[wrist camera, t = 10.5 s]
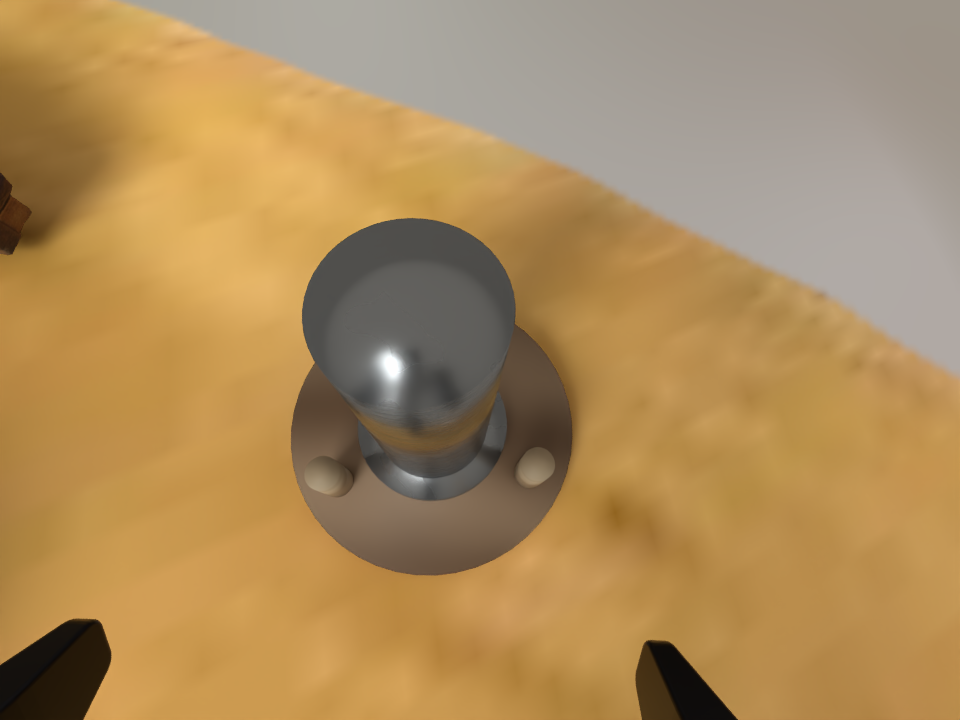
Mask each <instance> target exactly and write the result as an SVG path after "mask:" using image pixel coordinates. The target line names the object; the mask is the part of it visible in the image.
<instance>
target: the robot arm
mask: <svg viewBox="0 0 960 720" xmlns="http://www.w3.org/2000/svg"><path fill="white" fill-rule="evenodd" d="M110 662H111V649H110V646H109V644H108V641H107V638H106V635H105V632H104V629H103V626H102V624H101V622H100V621H98V620H96V619H72V620H69V621H67V622H65V623H63V624H61V625H60V626H58V627H57V628H55V629H54V630H52V631H51V632H49V633H48V634H46V635H45V636H43V637H42V638H40V639H39V640H37V641H36V642H34V643H33V644H31V645H30V646H28V647H27V648H25V649H24V650H22V651H21V652H19V653H18V654H16V655H15V656H13V657H12V658H10V659H9V660H7V661H6V662H4V663H2V664H1V665H0V720H83V719H84V717H85V715H86V713H87V711H88V709H89V707H90V705H91V703H92V701H93V699H94V697H95V695H96V693H97V691H98V689H99V687H100V685H101V683H102V681H103V679H104V677H105V675H106V673H107V671H108V668H109V665H110ZM636 689H637V694H638V700H639V705H640V711H641V716H642V720H738V719H737V718H736V717H735V716H734V715H733V714H732V712H731V711H730V710H729V709H728V708H727V707H726V705H725V704H724V703H723V702H722V701H721V700H720V698H719V697H718V696H717V695H716V694H715V693H714V691H713V690H712V689H711V688H710V687H709V686H708V684H707V683H706V682H705V681H704V680H703V679H702V677H701V676H700V675H699V674H698V673H697V672H696V671H695V669H694V668H693V667H692V666H691V665H690V664H689V662H688V661H687V660H686V659H685V658H684V657H683V655H682V654H681V653H680V652H679V651H678V650H677V648H676V647H675V646H674V645H673V644H671V643H670V642H668V641H656V640H648V641H646V642H645V643H644V645H643V648H642V652H641V655H640V659H639V663H638V666H637V670H636Z"/></svg>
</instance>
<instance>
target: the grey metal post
mask: <svg viewBox="0 0 960 720" xmlns="http://www.w3.org/2000/svg"><path fill="white" fill-rule="evenodd" d="M514 323H515V299H514V293H513V289H512V286H511V283H510V280H509V278H508V275H507V273H506V271H505V269H504V268H503V266H502V264H501V263H500V261H499V260H498V259H497V257H496V256H495V255H494V254H493V253H492V251H491V250H490V249H489V248H487V247H486V246H485V245H484V244H483V243H482V242H481V241H479V240H478V239H477V238H475V237H474V236H472V235H471V234H469V233H467V232H465V231H463V230H461V229H460V228H457V227H454V226H452V225H449V224H446V223H442V222H439V221H434V220H428V219H416V218H407V219H395V220H390V221H384V222H381V223H377V224H374V225H371V226H369V227H366V228H364V229H361V230H359V231H357V232H356V233H354V234H352V235H350V236H349V237H347V238H346V239H344V240H343V241H342V242H340V243H339V244H338V245H337V246H335V247H334V248H333V249H332V250H331V251H330V252H329V253H328V254H327V255H326V257H325V258H324V259H323V260H322V261H321V262H320V264H319V265H318V267H317V269H316V270H315V272H314V273H313V275H312V277H311V280H310V282H309V284H308V287H307V290H306V293H305V296H304V302H303V308H302V324H303V331H304V336H305V340H306V343H307V346H308V349H309V351H310V353H311V355H312V357H313V359H314V361H315V362H316V364H317V365H318V367H319V368H320V370H321V371H322V372H323V374H324V375H325V376H326V378H327V379H328V380H329V381H330V383H331V384H332V385H333V387H334V388H335V389H336V391H337V392H338V393H339V394H340V396H341V397H342V398H343V400H344V401H345V402H346V403H347V405H348V406H349V407H350V409H351V410H352V411H353V413H354V414H355V415H356V416H357V418H358V439H359V445H360V448H361V451H362V454H363V457H364V459H365V461H366V463H367V465H368V466H369V468H370V469H371V471H372V472H373V473H374V474H375V475H376V477H377V478H378V479H379V480H380V481H382V482H383V483H384V484H385V485H386V486H387V487H389V488H390V489H392V490H393V491H395V492H397V493H399V494H401V495H403V496H405V497H408V498H412V499H415V500H421V501H441V500H447V499H451V498H455V497H457V496H460V495H462V494H464V493H466V492H468V491H470V490H472V489H473V488H474V487H476V486H477V485H478V484H480V483H481V482H482V481H483V480H484V479H485V478H486V477H487V476H488V475H489V473H490V472H491V471H492V469H493V468H494V466H495V465H496V463H497V461H498V459H499V457H500V455H501V452H502V450H503V447H504V443H505V440H506V432H507V418H506V411H505V407H504V404H503V401H502V398H501V396H500V394H499V392H498V387H499V384H500V380H501V376H502V372H503V368H504V364H505V360H506V357H507V353H508V349H509V345H510V341H511V337H512V334H513V330H514Z"/></svg>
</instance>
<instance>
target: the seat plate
mask: <svg viewBox="0 0 960 720" xmlns="http://www.w3.org/2000/svg"><path fill="white" fill-rule="evenodd" d="M498 392H499V394H500V396H501V398H502V401H503V404H504V407H505V411H506V418H507V432H506V440H505V443H504V447H503V450H502V452H501V455H500V457H499V459H498V461H497V463H496V465H495V466H494V468H493V469H492V471H491V472H490V473H489V475H488V476H487V477H486V478H485V479H484V480H483V481H482V482H481V483H480V484H478V485H477V486H476V487H474V488H473V489H472V490H470V491H468V492H466V493H464V494H462V495H460V496H457V497H455V498H451V499H447V500H441V501H421V500H415V499H412V498H408V497H405V496H403V495H401V494H399V493H397V492H395V491H393V490H392V489H390V488H389V487H387V486H386V485H385V484H384V483H383V482H382V481H380V480H379V479H378V478H377V477H376V475H375V474H374V473H373V472H372V471H371V469H370V468H369V466H368V465H367V463H366V461H365V459H364V457H363V454H362V451H361V448H360V445H359V439H358V418H357V416H356V415H355V414H354V413H353V411H352V410H351V409H350V407H349V406H348V405H347V403H346V402H345V401H344V400H343V398H342V397H341V396H340V394H339V393H338V392H337V391H336V389H335V388H334V387H333V385H332V384H331V383H330V381H329V380H328V379H327V378H326V376H325V375H324V374H323V372H322V371H321V370H320V368H319V367H318V365H317V364H316V362H315V364H314V365H313V367H312V369H311V370H310V372H309V374H308V375H307V377H306V379H305V381H304V384H303V386H302V388H301V391H300V393H299V396H298V399H297V403H296V406H295V410H294V415H293V422H292V428H291V451H292V459H293V467H294V471H295V474H296V478H297V482H298V485H299V487H300V490H301V492H302V495H303V497H304V499H305V502H306V503H307V505H308V507H309V508H310V510H311V512H312V513H313V515H314V516H315V518H316V519H317V521H318V522H319V523H320V524H321V525H322V527H323V528H324V529H325V530H326V531H327V533H328V534H329V535H331V536H332V537H333V538H334V539H335V540H336V541H337V542H338V543H339V544H340V545H342V546H343V547H344V548H346V549H347V550H349V551H350V552H352V553H353V554H355V555H356V556H358V557H359V558H361V559H363V560H366V561H368V562H370V563H372V564H374V565H376V566H379V567H382V568H385V569H388V570H392V571H395V572H400V573H406V574H413V575H443V574H451V573H457V572H461V571H465V570H468V569H472V568H476V567H478V566H480V565H483V564H485V563H487V562H490V561H492V560H494V559H496V558H498V557H499V556H501V555H503V554H504V553H506V552H508V551H509V550H511V549H512V548H514V547H515V546H516V545H517V544H518V543H520V542H521V541H522V540H523V539H525V538H526V537H527V536H528V535H529V534H530V533H531V532H532V531H533V530H534V529H535V528H536V526H537V525H538V524H539V523H540V522H541V521H542V519H543V518H544V517H545V515H546V514H547V512H548V511H549V509H550V508H551V507H552V505H553V503H554V501H555V499H556V497H557V495H558V493H559V491H560V489H561V487H562V484H563V481H564V478H565V476H566V473H567V469H568V464H569V460H570V455H571V445H572V422H571V414H570V408H569V403H568V399H567V396H566V393H565V390H564V387H563V384H562V382H561V380H560V377H559V375H558V373H557V371H556V369H555V367H554V366H553V364H552V363H551V361H550V360H549V358H548V356H547V355H546V354H545V353H544V351H543V350H542V349H541V348H540V346H539V345H538V344H537V343H536V342H535V341H534V340H533V339H532V338H531V337H530V336H529V335H528V334H527V333H526V332H525V331H523V330H522V329H521V328H519V327H518V326H517V325H515V324H514V330H513V334H512V337H511V341H510V345H509V349H508V353H507V357H506V360H505V364H504V368H503V372H502V376H501V380H500V384H499V387H498Z"/></svg>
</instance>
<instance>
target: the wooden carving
mask: <svg viewBox="0 0 960 720" xmlns="http://www.w3.org/2000/svg"><path fill="white" fill-rule="evenodd" d="M11 190H12V185H11V184H10V183H9V182H8V181H7V179H6V178H5V177H4V176H3V175H2V174H1V173H0V254H5V255H11V254H13V252H14V250H15V247H16V246H17V244H18V241H19V240H20V238H21V232H20V231H21V229H22V227H23V225H24V223H25V222H26V220H27V219H28V218H29V216H30V214H31V211H30V209H29V208H28V207H26V206H25V205H23V204H22V203H20V202H19V201H18V200H16V199H15V198H13V197H12V196H11V194H10V193H11Z"/></svg>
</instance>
